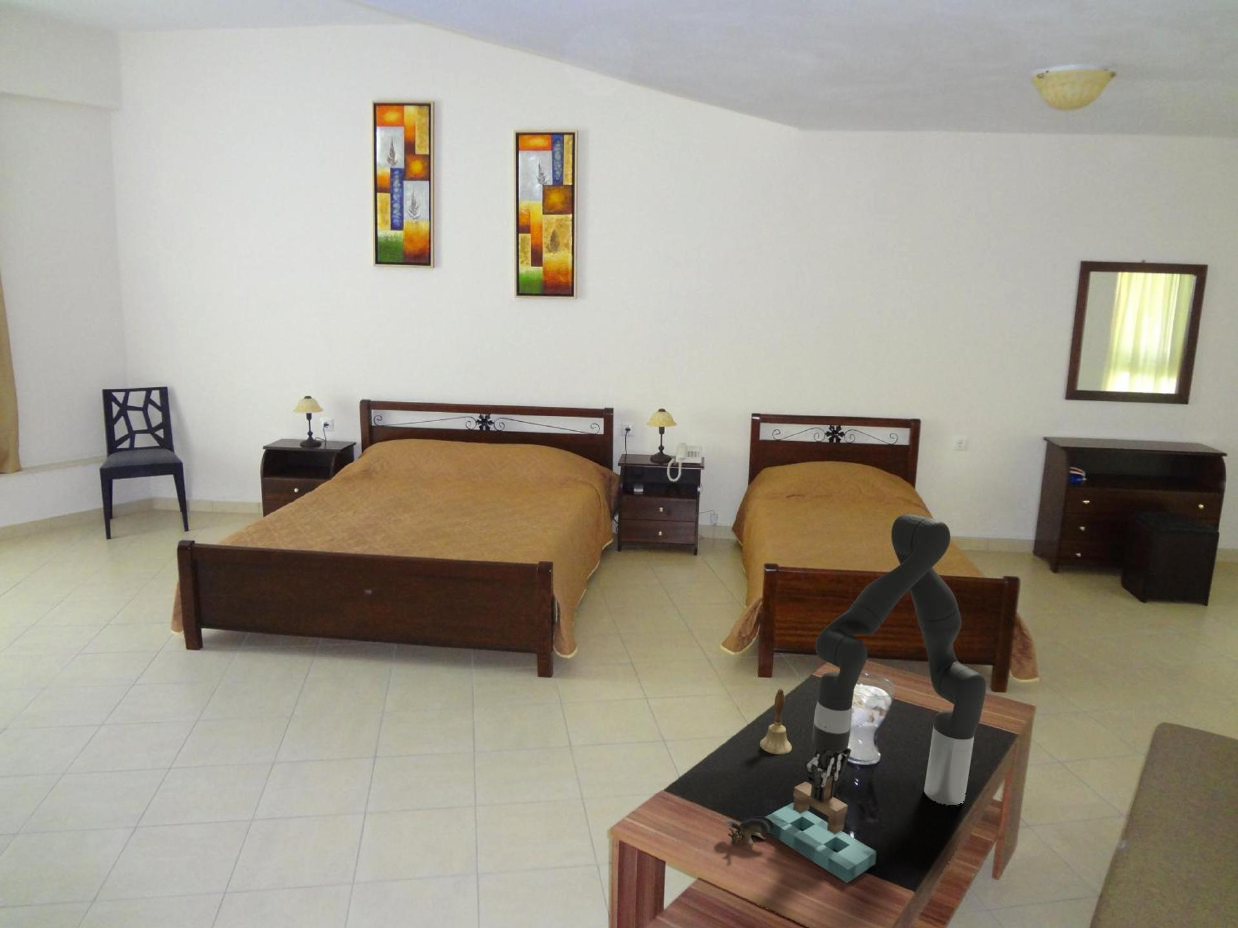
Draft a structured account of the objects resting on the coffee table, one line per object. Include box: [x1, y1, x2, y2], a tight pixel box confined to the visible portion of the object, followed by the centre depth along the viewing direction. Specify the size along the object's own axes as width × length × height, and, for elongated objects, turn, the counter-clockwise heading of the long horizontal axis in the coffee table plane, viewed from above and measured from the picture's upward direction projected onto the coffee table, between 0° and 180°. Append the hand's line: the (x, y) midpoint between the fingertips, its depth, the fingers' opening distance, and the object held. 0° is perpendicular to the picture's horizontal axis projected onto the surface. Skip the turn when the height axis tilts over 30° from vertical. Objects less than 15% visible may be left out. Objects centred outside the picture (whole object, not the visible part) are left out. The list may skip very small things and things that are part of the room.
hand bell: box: [759, 688, 793, 755], centre depth 230 cm, size 8×8×16 cm
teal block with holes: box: [765, 801, 877, 884], centre depth 190 cm, size 22×10×3 cm, turn 41°
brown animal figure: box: [725, 815, 775, 849], centre depth 191 cm, size 8×7×9 cm
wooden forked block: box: [792, 774, 849, 834], centre depth 189 cm, size 11×4×10 cm, turn 41°
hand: (823, 796), depth 188 cm, fingers closed on wooden forked block, 3 cm apart
